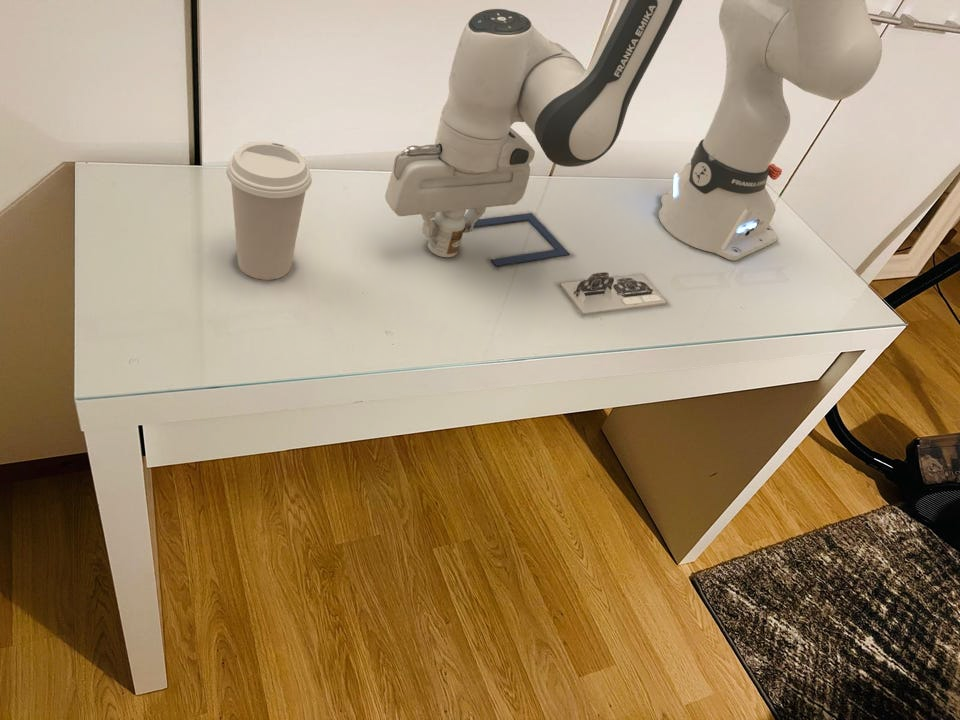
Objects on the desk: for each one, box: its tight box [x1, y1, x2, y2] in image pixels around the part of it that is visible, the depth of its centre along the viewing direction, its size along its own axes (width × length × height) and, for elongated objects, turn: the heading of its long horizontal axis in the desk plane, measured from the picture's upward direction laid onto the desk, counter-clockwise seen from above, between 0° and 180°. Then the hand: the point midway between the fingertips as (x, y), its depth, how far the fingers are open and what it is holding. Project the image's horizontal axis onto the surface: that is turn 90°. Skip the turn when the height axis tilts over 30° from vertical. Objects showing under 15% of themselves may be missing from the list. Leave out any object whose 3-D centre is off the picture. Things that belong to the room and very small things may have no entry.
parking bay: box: [473, 212, 570, 268], centre depth 115 cm, size 14×11×1 cm
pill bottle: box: [427, 210, 466, 258], centre depth 106 cm, size 4×4×8 cm
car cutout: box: [559, 271, 668, 317], centre depth 109 cm, size 15×7×4 cm, turn 115°
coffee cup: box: [225, 141, 313, 281], centre depth 92 cm, size 10×10×15 cm
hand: (447, 232), depth 106 cm, fingers closed on pill bottle, 4 cm apart
